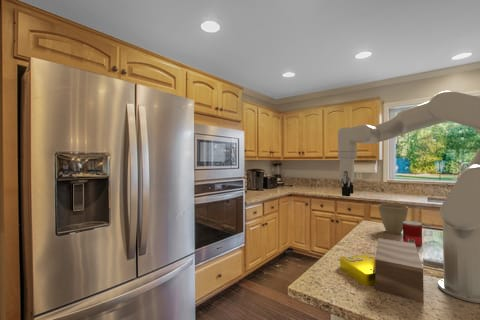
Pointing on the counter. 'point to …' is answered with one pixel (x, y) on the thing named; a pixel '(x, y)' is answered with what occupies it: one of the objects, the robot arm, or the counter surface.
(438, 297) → the counter surface
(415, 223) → the canned food
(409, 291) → the brown wooden block
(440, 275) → the counter surface
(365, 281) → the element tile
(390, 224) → the plant pot
